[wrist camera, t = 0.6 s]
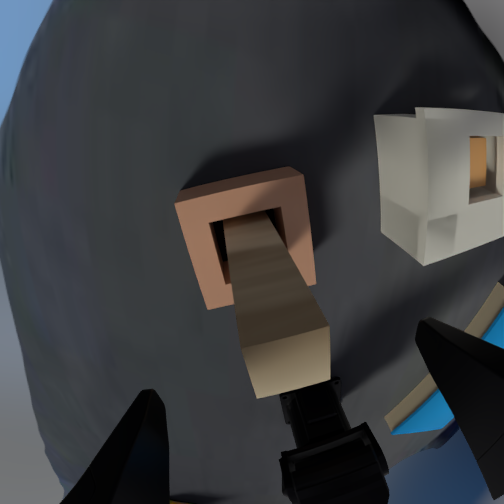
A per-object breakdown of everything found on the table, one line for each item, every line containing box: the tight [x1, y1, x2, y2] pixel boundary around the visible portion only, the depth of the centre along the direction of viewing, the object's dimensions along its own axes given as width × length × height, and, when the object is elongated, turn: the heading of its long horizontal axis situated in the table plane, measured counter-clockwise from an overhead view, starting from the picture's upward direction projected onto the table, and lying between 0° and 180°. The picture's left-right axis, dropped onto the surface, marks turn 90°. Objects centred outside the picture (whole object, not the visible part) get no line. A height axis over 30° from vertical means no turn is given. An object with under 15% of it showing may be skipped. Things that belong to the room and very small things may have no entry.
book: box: [384, 282, 504, 435], centre depth 32 cm, size 17×4×25 cm
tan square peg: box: [223, 210, 330, 399], centre depth 14 cm, size 3×3×12 cm
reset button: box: [469, 136, 486, 188], centre depth 16 cm, size 4×4×2 cm
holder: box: [174, 166, 316, 310], centre depth 18 cm, size 7×7×3 cm
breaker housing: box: [373, 107, 504, 266], centre depth 16 cm, size 9×12×6 cm
